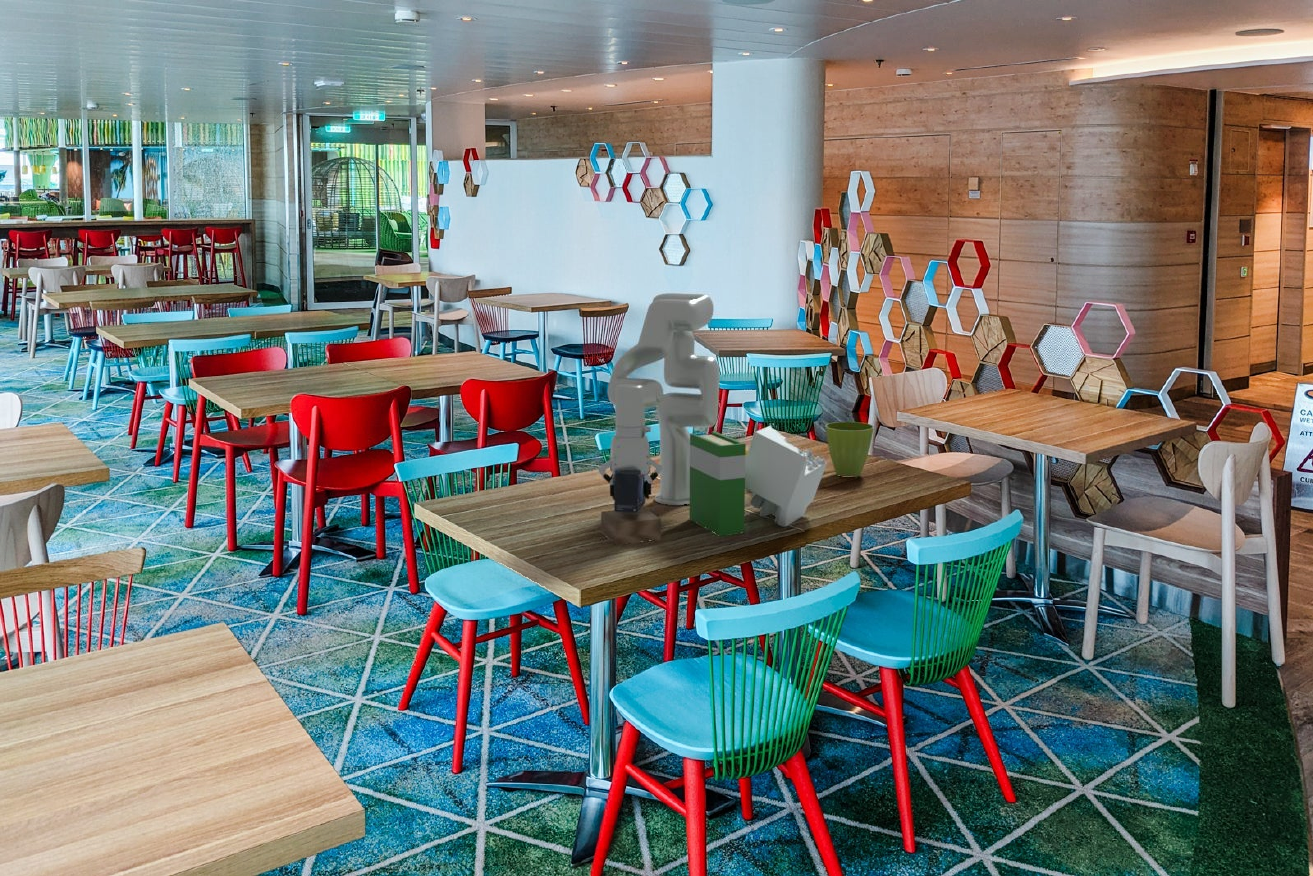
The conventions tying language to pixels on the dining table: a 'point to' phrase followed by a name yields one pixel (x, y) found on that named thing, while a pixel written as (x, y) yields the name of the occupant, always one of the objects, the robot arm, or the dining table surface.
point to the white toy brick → (781, 476)
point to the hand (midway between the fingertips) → (630, 497)
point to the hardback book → (717, 483)
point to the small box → (629, 491)
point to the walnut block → (630, 526)
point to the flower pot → (849, 446)
